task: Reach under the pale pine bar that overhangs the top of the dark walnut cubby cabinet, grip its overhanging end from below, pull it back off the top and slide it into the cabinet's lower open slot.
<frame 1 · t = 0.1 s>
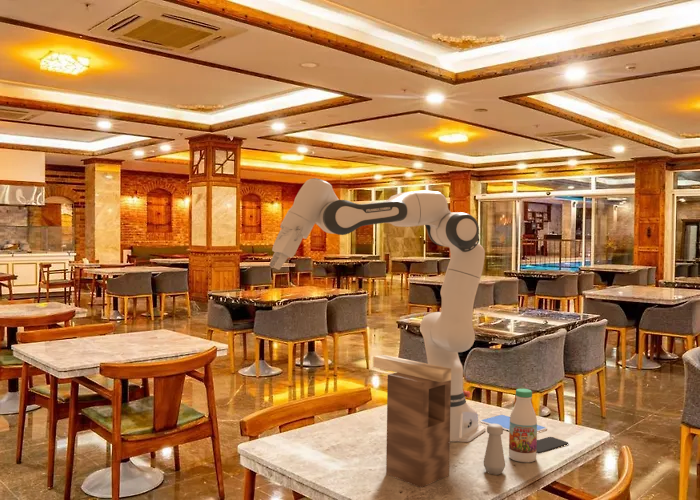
hand: (273, 267, 182), 54 cm above the table, tool tilted 30°, fingers open, 8 cm apart
pine bar: (410, 373, 168), point 27 cm above the table, touching walnut cabinet
tablet computer: (512, 427, 210), on the table
phone: (544, 447, 191), on the table
walnut cabinet: (417, 474, 166), on the table
salt shaker: (494, 472, 169), on the table
milk bottle: (522, 459, 179), on the table
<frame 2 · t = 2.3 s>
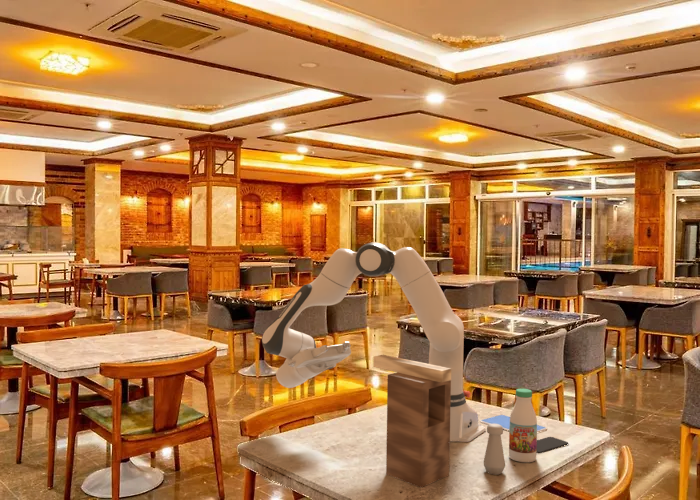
hand: (337, 345, 188), 30 cm above the table, tool pointing upward, fingers open, 8 cm apart
nothing on the table moved.
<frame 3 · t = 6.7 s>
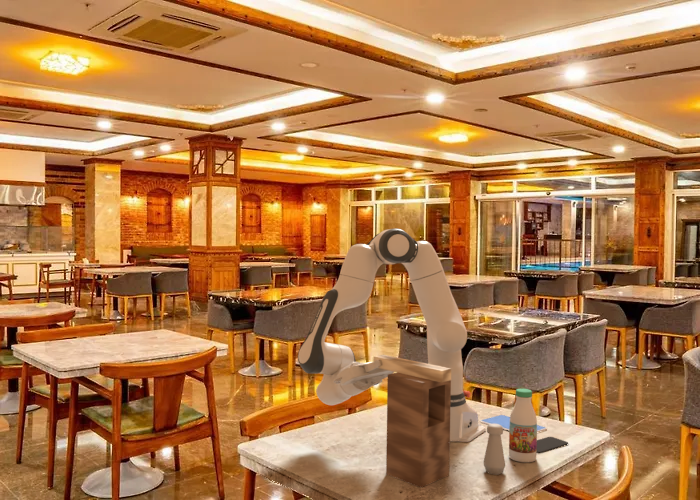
hand: (386, 360, 174), 29 cm above the table, tool pointing upward, fingers closed on pine bar, 4 cm apart
pine bar: (410, 373, 168), point 27 cm above the table, touching gripper, walnut cabinet
everything else where it was.
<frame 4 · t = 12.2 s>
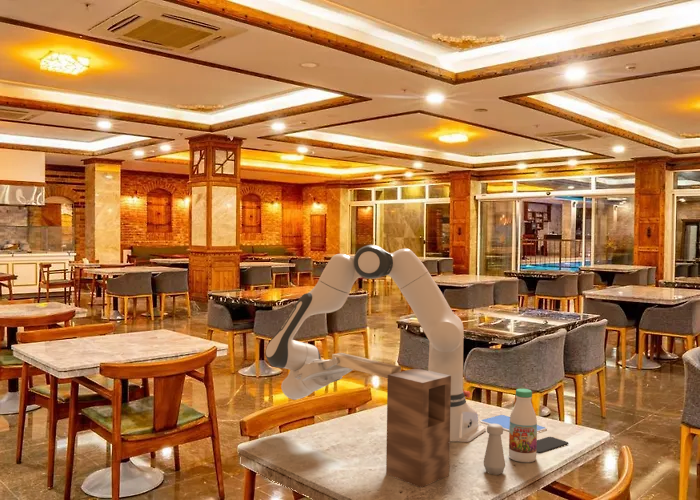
hand: (344, 358, 186), 27 cm above the table, tool pointing upward, fingers closed on pine bar, 4 cm apart
pine bar: (364, 370, 180), point 25 cm above the table, touching gripper
everything else where it was.
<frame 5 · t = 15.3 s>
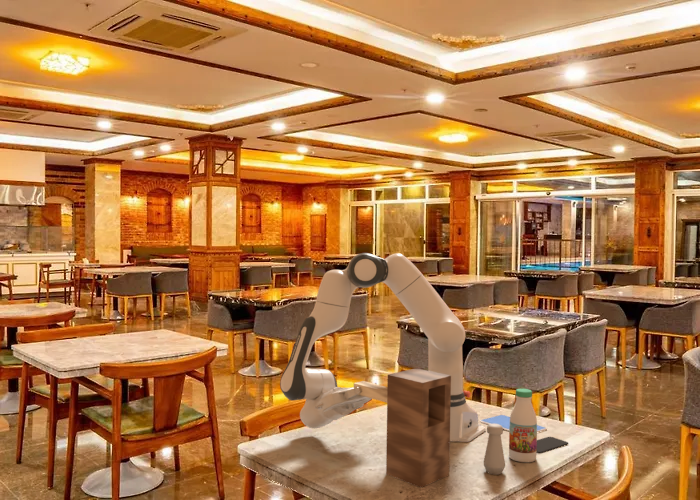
hand: (366, 387, 180), 20 cm above the table, tool pointing upward, fingers closed on pine bar, 4 cm apart
pine bar: (388, 400, 173), point 18 cm above the table, touching gripper
everything else where it was.
when the fingers open (20 cm above the table, at t = 17.8 s): pine bar drops 3 cm, resting on walnut cabinet.
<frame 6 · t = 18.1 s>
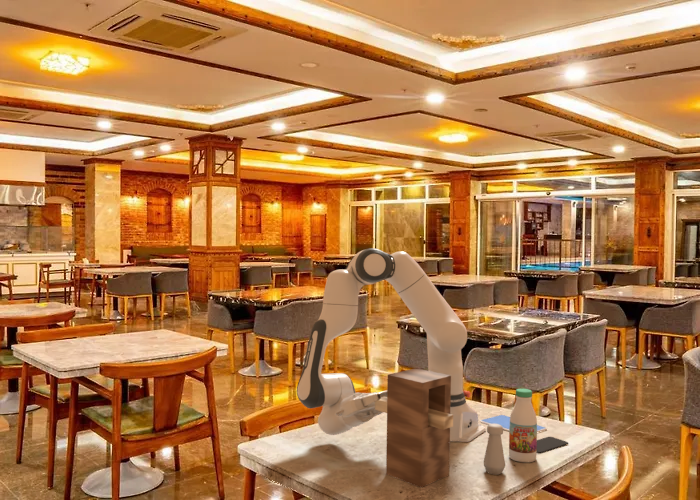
hand: (389, 393, 173), 20 cm above the table, tool pointing upward, fingers open, 7 cm apart
pine bar: (412, 417, 167), point 15 cm above the table, touching walnut cabinet
everything else where it was.
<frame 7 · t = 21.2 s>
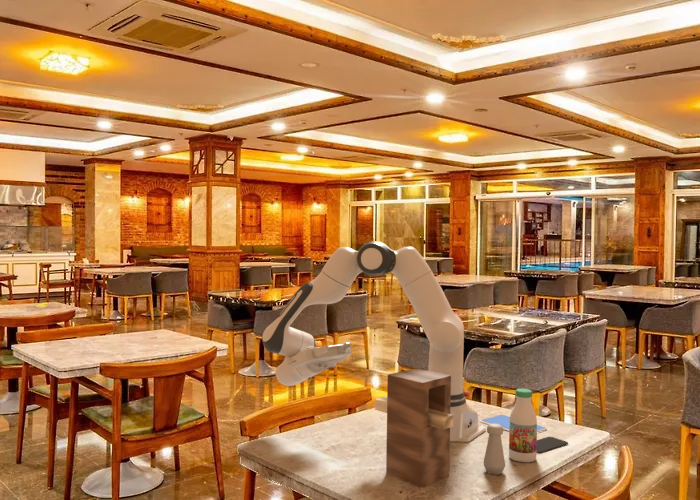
hand: (338, 346, 188), 30 cm above the table, tool pointing upward, fingers open, 8 cm apart
nothing on the table moved.
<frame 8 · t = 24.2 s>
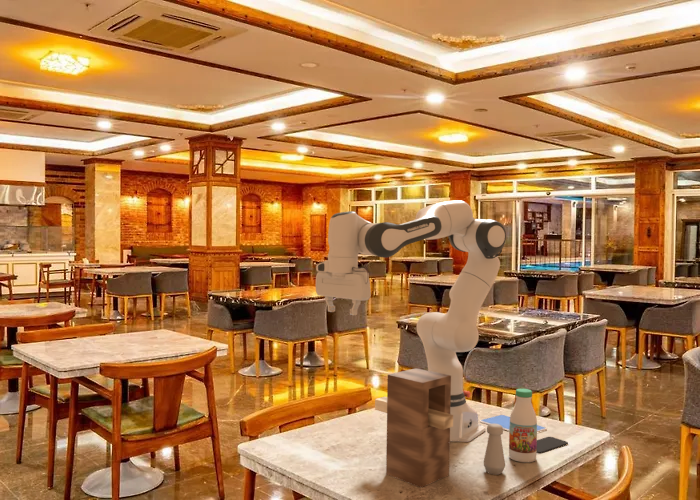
hand: (342, 313, 182), 41 cm above the table, tool pointing down, fingers open, 8 cm apart
nothing on the table moved.
at the end: pine bar inside the target area on the walnut cabinet (0.7 cm from its centre), point 15.0 cm above the walnut cabinet's base; the gripper is holding nothing; pine bar tilted 0° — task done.
